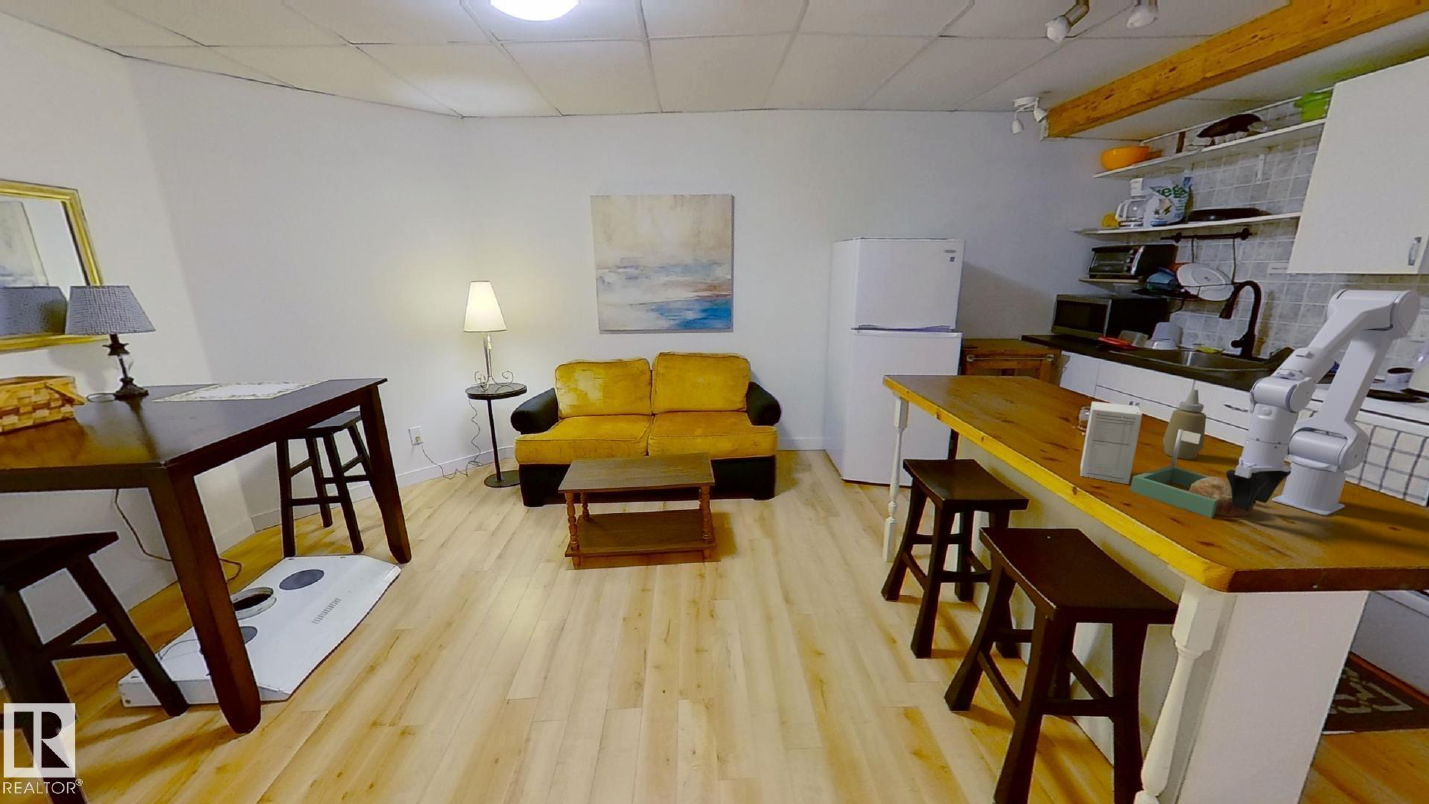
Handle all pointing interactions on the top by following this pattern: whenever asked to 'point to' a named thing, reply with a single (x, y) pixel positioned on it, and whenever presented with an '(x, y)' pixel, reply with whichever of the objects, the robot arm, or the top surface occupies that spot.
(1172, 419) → the squeeze bottle
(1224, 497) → the bread roll
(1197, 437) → the teal shallow tray
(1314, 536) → the top surface
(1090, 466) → the supplement box
